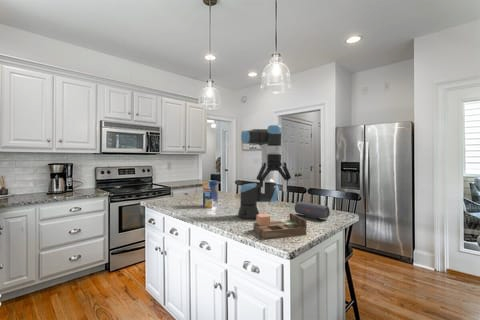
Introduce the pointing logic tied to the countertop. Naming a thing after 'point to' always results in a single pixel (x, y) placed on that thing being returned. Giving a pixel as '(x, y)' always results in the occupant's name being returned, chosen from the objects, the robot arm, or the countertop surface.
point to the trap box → (282, 228)
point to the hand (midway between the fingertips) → (273, 192)
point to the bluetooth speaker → (312, 210)
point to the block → (263, 219)
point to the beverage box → (210, 193)
